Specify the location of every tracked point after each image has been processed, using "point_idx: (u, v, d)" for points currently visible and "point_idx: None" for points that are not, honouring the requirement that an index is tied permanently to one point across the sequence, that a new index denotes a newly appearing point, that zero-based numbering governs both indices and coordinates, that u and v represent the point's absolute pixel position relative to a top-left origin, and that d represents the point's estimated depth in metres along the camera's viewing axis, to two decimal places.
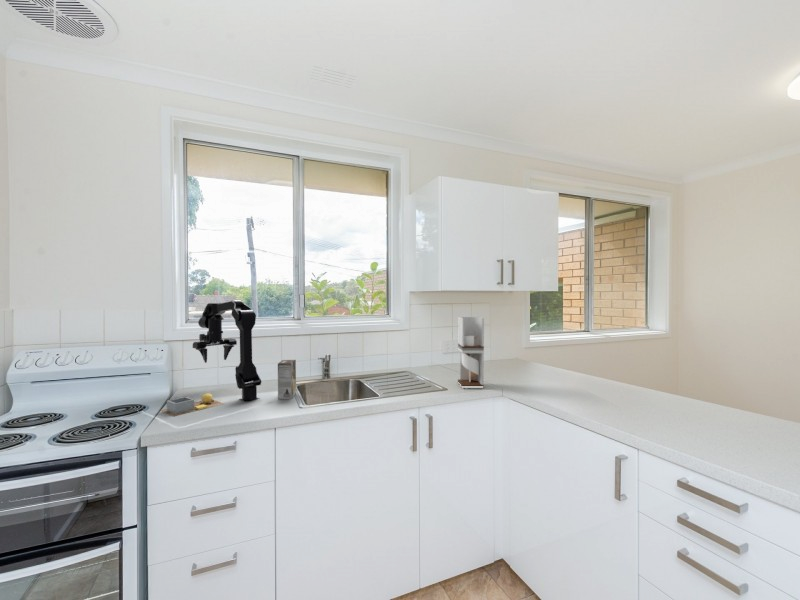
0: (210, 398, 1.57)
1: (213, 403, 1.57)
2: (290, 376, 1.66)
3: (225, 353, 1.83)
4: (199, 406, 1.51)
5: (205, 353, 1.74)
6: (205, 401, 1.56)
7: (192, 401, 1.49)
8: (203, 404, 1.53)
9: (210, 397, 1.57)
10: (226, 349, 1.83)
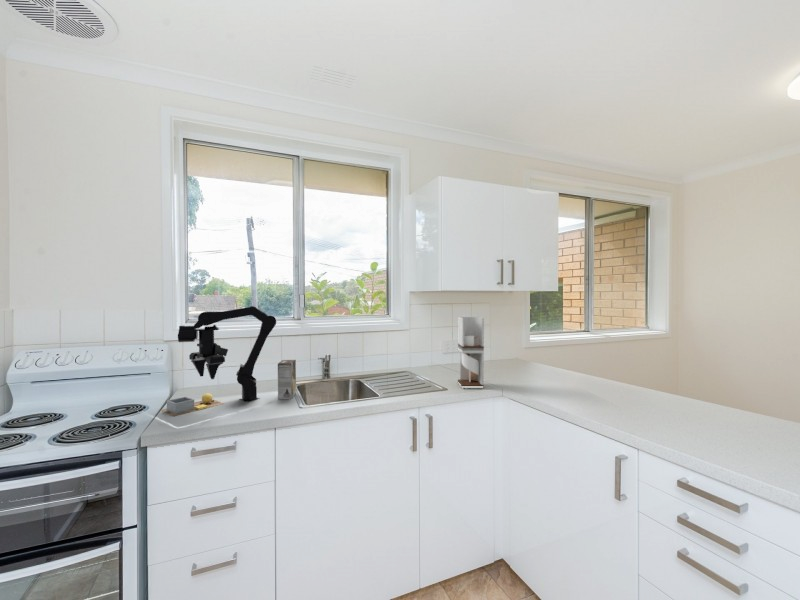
0: (210, 398, 1.57)
1: (213, 403, 1.57)
2: (290, 376, 1.66)
3: None
4: (199, 406, 1.51)
5: (195, 366, 1.59)
6: (205, 401, 1.56)
7: (192, 401, 1.49)
8: (203, 404, 1.53)
9: (210, 397, 1.57)
10: None
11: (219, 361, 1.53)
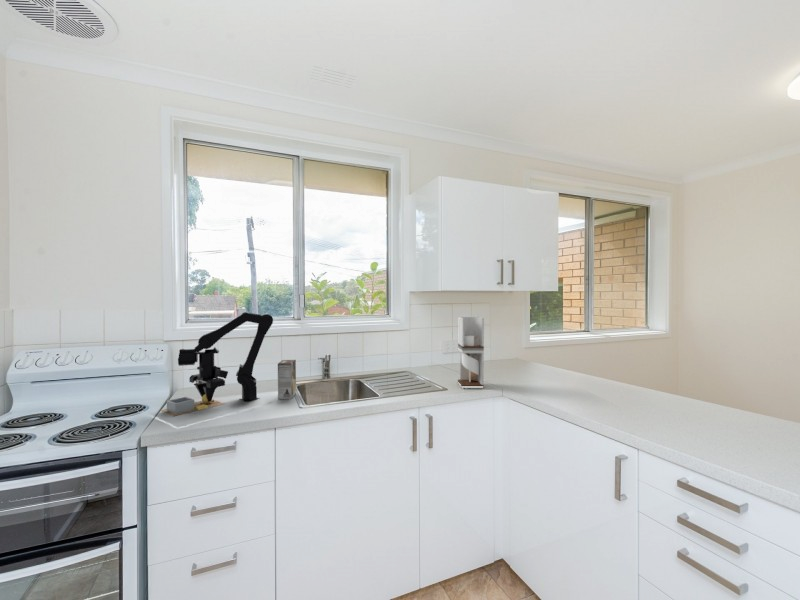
0: None
1: (213, 403, 1.57)
2: (290, 376, 1.66)
3: None
4: (199, 406, 1.51)
5: (197, 389, 1.58)
6: (205, 401, 1.56)
7: (192, 401, 1.49)
8: (203, 404, 1.53)
9: None
10: None
11: (219, 385, 1.53)
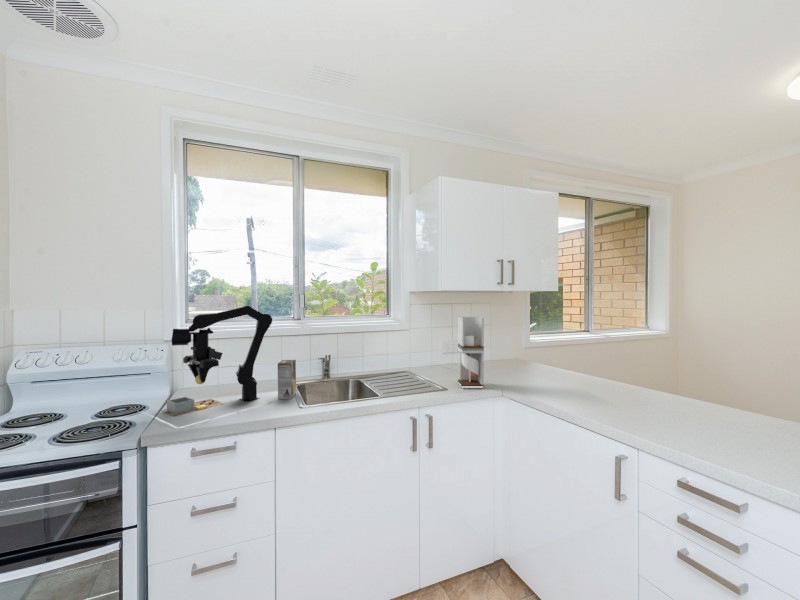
0: None
1: (213, 403, 1.57)
2: (290, 376, 1.66)
3: None
4: (199, 406, 1.51)
5: (191, 370, 1.56)
6: (198, 382, 1.54)
7: (192, 401, 1.49)
8: (203, 404, 1.53)
9: None
10: None
11: (213, 365, 1.50)
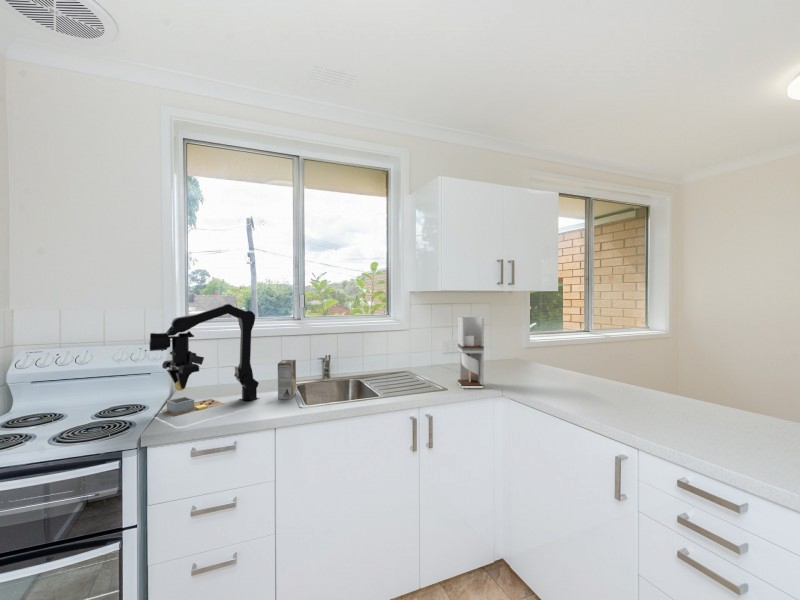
0: None
1: (213, 403, 1.57)
2: (290, 376, 1.66)
3: None
4: (199, 406, 1.51)
5: None
6: (178, 388, 1.47)
7: (192, 401, 1.49)
8: (203, 404, 1.53)
9: None
10: None
11: (193, 370, 1.43)
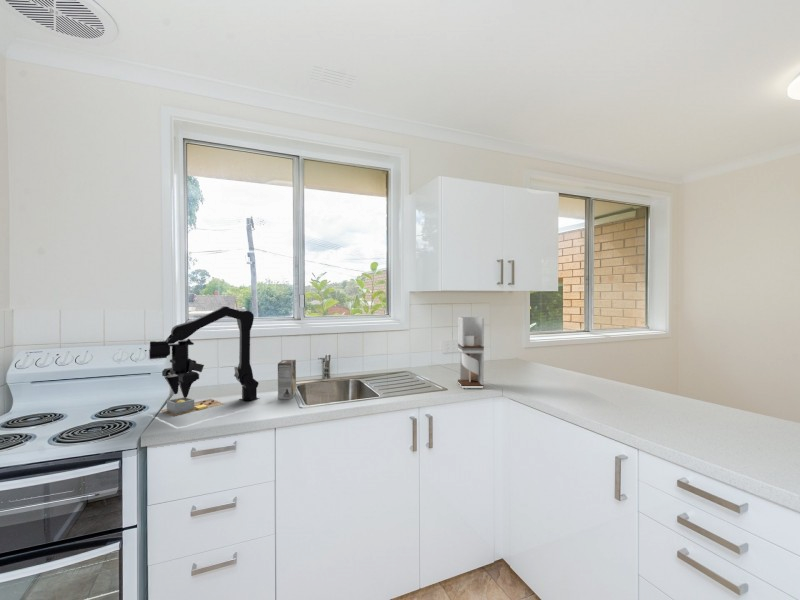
0: None
1: (213, 403, 1.57)
2: (290, 376, 1.66)
3: None
4: (199, 406, 1.51)
5: (168, 383, 1.50)
6: None
7: (192, 401, 1.49)
8: (203, 404, 1.53)
9: None
10: None
11: (193, 378, 1.43)
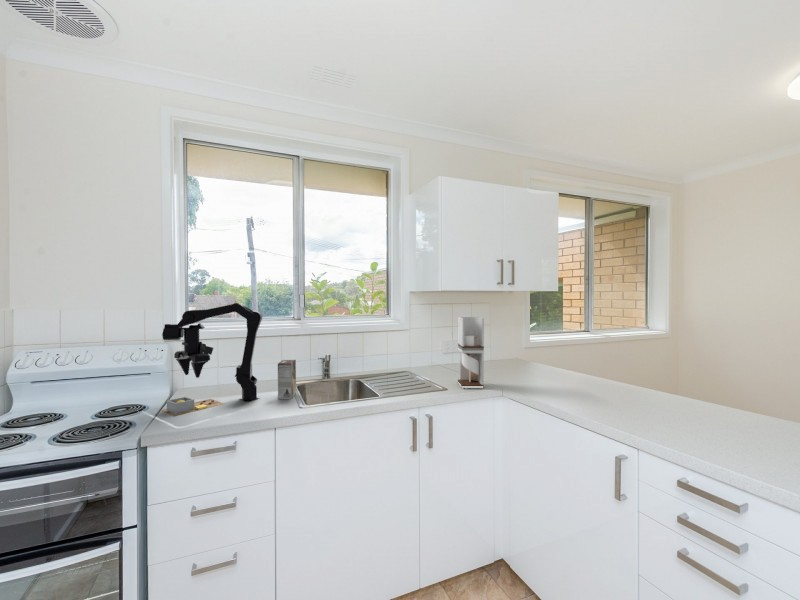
0: None
1: (213, 403, 1.57)
2: (290, 376, 1.66)
3: None
4: (199, 406, 1.51)
5: (180, 364, 1.60)
6: None
7: (192, 401, 1.49)
8: (203, 404, 1.53)
9: None
10: None
11: (204, 359, 1.53)
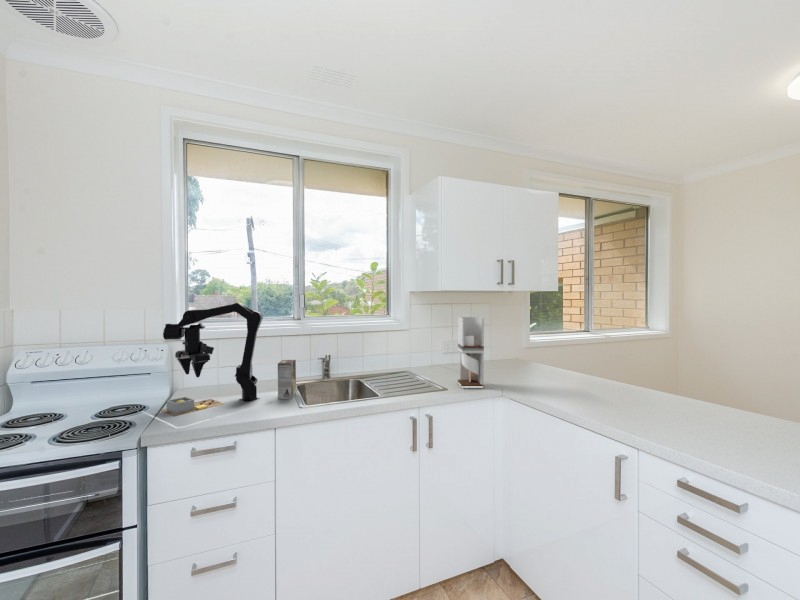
0: None
1: (213, 403, 1.57)
2: (290, 376, 1.66)
3: None
4: (199, 406, 1.51)
5: None
6: None
7: (192, 401, 1.49)
8: (203, 404, 1.53)
9: None
10: None
11: (204, 359, 1.54)
